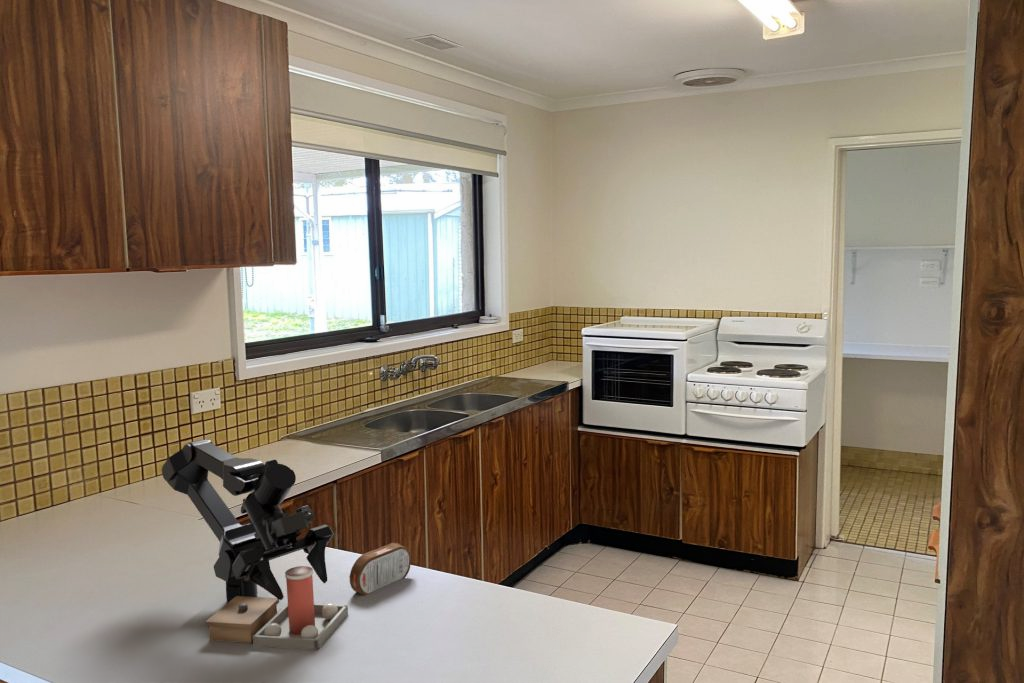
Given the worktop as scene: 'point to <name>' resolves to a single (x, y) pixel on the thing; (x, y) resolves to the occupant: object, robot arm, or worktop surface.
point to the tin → (380, 568)
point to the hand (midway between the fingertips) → (304, 590)
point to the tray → (296, 641)
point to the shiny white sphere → (272, 630)
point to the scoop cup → (300, 598)
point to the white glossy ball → (309, 632)
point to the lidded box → (241, 618)
